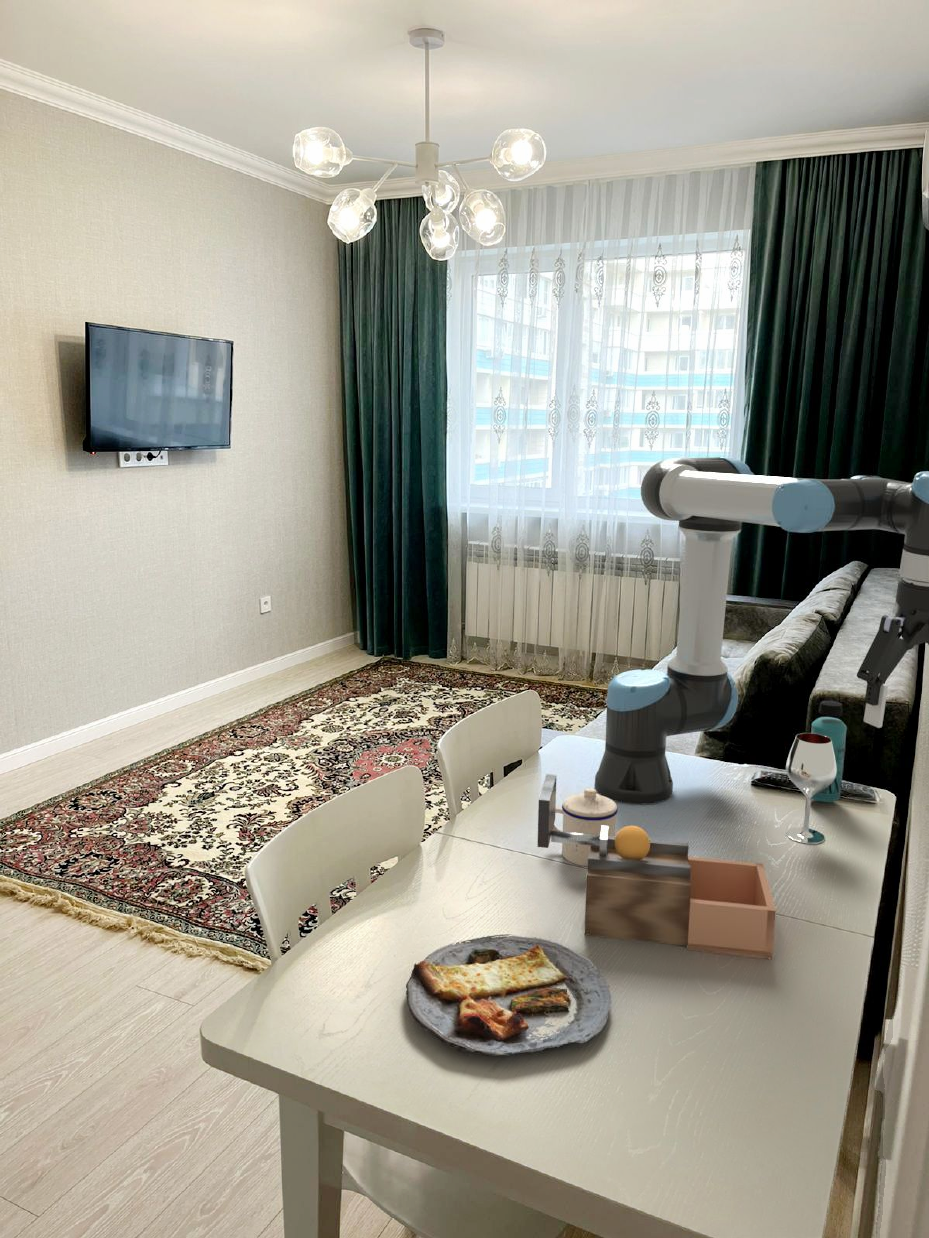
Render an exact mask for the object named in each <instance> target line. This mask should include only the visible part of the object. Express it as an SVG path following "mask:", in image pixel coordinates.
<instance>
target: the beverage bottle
mask: <svg viewBox="0 0 929 1238" xmlns="http://www.w3.org/2000/svg"><path fill="white" fill-rule="evenodd" d="M843 711H844V710H843V704H842V703H841V702H839V701H835V700H822V701H821V702H820V704H819V708H818V713H819V714H821V715H824V716H821V717H818V718H816V719H815V720H814V721H813V722H812V723H811V732H810V733H814V734H820V735H824V736H827V737H829V738H830V739H831V740H832V745H833V750H834V755H835V760H836V768H837V773H836V777H835V779H834V781H833V782H832V783H831V784H830V785H829V786H828V787H827V788H825V789H823V790H822V791H820V792H818V793H816V794H815V795H814V796H813V797H812V798H811V800H815V801H819V802H827V803H833V802H836V801H839V799H840V798H841V794H842V788H843V781H844V780H843V776H844V769H845V768H844V762H845V761H844V760H845V758H846V755H845V753H846V743H847V741H846V737H847V730H848V727H847V725H846V724H845V723H844V722H843V721H842V720H841V719H839V718H837V717H841V716H842V715H843Z"/></svg>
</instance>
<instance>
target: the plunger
mask: <svg viewBox="0 0 929 1238" xmlns="http://www.w3.org/2000/svg"><path fill="white" fill-rule="evenodd" d="M556 802H557V774H551V773H550V774H545V777H544V781H543V785H542V787H541V790H540V795H539V797H538V812H537V848H545V849H548V848H549V847H550V842H551V843H559V844H562V843H568V844H579V845H590V846H600V851H599V856H600V857H607V849H608V827H609V826H603V825H602V826H601V835H595V834H584V833H573V832H563V830H560V831H552V830H553V826H554V825H555V821H556V813H555V809H556V807H557V806H556V805H557V804H556Z"/></svg>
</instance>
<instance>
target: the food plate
mask: <svg viewBox="0 0 929 1238" xmlns="http://www.w3.org/2000/svg"><path fill="white" fill-rule="evenodd" d="M410 974H411V975H410V977H409V979H408V981H407V982H406V985H405V988H406V992H405V996H406V999H407V1000H406V1001H407V1006H408V1008H409V1013H410V1014H411V1016H412V1017H413V1019H414V1020H415V1022H416V1023H417V1024H418V1025H420V1026H421V1027H422V1028H424V1029H426V1030H428V1031H429V1032H430V1033H431V1034H433V1035H435V1037H437V1038H438V1039H439V1040H440V1041H441V1043H445V1044H449V1045H450V1046H451V1047H455V1048H458V1052H461V1047H462V1048H463V1050H464V1051H466V1052H468V1053H473V1052H475V1051H479V1052H482V1055H484V1056H486V1057H492V1056H493V1057H495V1056H496V1057H497V1056H503V1055H504V1056H509V1054H512V1055H514V1054H519V1053H523V1054H524V1053H531V1054H532V1053H534V1052H539V1051H543V1050H545V1049H546V1048H548V1049H551V1048H555V1047H556V1048H559V1047H560V1046H563V1045H566V1044H570V1043H578V1044H584V1043H585V1042H586V1043H587V1042H588V1041H589V1040H592V1038H593V1037H595V1036H596V1035H598V1034H599V1033H600V1032H601V1031H602V1030H603V1028H604V1027H605V1026H606V1025H607V1020H608V1019H609V1011H610V1009H611V1005H612V1004H613V1002H612V995H611V990H610V985H609V984H608V983H607V982H608V981H606V978H605V977H604V976H603V974H602V973H601V972H600V971H599V970H598V969H597V967H596V965H595V964H594V963H593V962H592V960H590V959H589V958H587V957H585V956H583V955H581V954H580V953H577V952H576V951H574V950H573V949H572V948H570V947H567V946H565V945H563V944H561V943H558V942H555V941H552V940H549V939H545V938H541V937H533V936H532V937H529V936H519V935H511V933H509V934H508V933H507V934H496V935H495V934H494V935H487V936H481V937H476V938H472V939H467V940H462V941H458V942H454V943H449V944H447V945H444V946H442V947H440V948H438V949H436V950H434V951H432V952H431V953H429V954H428V955H427V956H426V957H425V959H423V960H422V961H419V962H418V963H416V962H415V963H414V964H413V969H412V970H411V973H410ZM560 983H563V984H564V985H565V986H566V988H558V987H554V986H559V984H560ZM568 991H569V992H570V994H571V996H572V998H573V999H574V1000H575V1005H576V1008H575V1013H573V1017H574V1018H573V1019H572V1020H570V1021H567V1023H568V1025H567V1026H565V1025H563V1026H562V1025H561V1026H559V1027H558V1028H557V1029H555V1031H553V1030H552V1031H550V1032H551V1033H552V1034H551V1035H549V1033H547V1032H546V1033H539V1032H540V1030H539V1029H538V1028H541V1027H546V1028H552V1027H555V1025H554V1024H552V1023H553V1022H552V1021H551V1022H550V1023H546V1021H548V1019H549V1018H550V1015H548V1014H553V1013H555V1014H556V1013H571V1011H570V1008H569V1006H571V1004H572V998H570V994H568ZM552 1017H555V1015H554V1014H553V1015H552ZM571 1017H572V1016H570V1015H569V1016H568V1018H571ZM555 1021H556V1022H557V1019H555ZM534 1032H535V1033H536V1034H534ZM538 1035H539V1036H538Z"/></svg>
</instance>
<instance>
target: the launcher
mask: <svg viewBox="0 0 929 1238" xmlns="http://www.w3.org/2000/svg"><path fill="white" fill-rule="evenodd" d="M615 837H616V836H615ZM615 837H612V836H608V849H607V857H600V856H599V851H600V846H591V848H590V855H588V866H587V870H586V883H585V885H586V886H585V907H584V908H585V910H584V911H585V913H584V935H585V936H594V937H601V938H602V937H604V938H613V939H622V940H629V941H630V940H631V941H640V942H641V941H642V942H648V943H658V944H667V945H676V946H685V947H686V946H687V940H688V924H689V907H690V892H691V881H690V874H691V865H689V860H688V857H689V848H690V846H689V842H678V841H666V840H656V839H655V840H654V839H649V840H650V849H649V852H648V854H647V855H646V856H645V857H644V858H643V859H642V860H632V859H623V858H622V857H620V856H619V854H618V853H617V851H616V849H615Z"/></svg>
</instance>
